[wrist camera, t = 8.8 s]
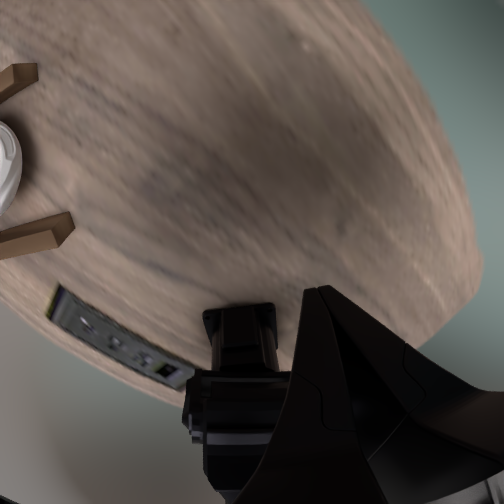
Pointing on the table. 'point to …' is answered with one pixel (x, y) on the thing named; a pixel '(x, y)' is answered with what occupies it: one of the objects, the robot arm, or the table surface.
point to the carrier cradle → (40, 231)
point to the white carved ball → (9, 166)
